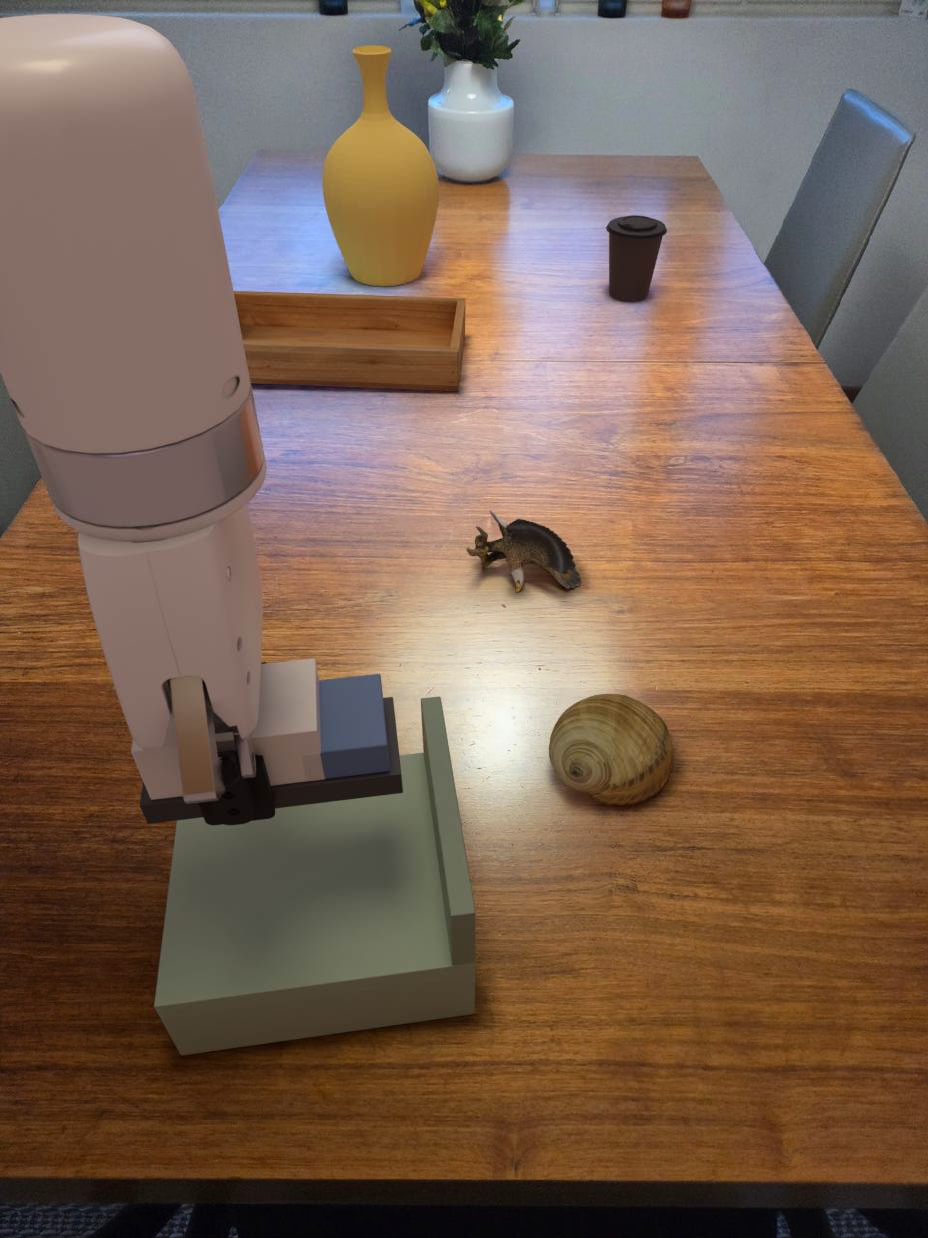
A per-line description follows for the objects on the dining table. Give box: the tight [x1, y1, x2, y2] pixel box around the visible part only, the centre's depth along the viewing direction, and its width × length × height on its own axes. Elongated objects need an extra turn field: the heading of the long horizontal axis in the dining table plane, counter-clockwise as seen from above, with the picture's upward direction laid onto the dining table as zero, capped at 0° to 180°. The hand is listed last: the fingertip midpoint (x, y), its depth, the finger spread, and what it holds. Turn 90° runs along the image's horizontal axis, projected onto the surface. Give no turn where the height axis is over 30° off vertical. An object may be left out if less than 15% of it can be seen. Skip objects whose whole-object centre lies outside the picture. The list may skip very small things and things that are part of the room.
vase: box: [321, 44, 440, 287], centre depth 119 cm, size 16×16×28 cm
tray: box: [233, 290, 466, 392], centre depth 106 cm, size 31×15×6 cm, turn 87°
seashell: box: [548, 693, 674, 807], centre depth 60 cm, size 10×7×8 cm
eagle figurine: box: [465, 509, 582, 593], centre depth 75 cm, size 8×7×9 cm
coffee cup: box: [605, 214, 668, 303], centre depth 119 cm, size 8×8×10 cm
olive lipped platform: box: [153, 695, 477, 1056], centre depth 49 cm, size 16×14×11 cm
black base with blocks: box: [130, 658, 403, 825], centre depth 42 cm, size 12×5×5 cm, turn 98°
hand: (244, 765), depth 43 cm, fingers closed on black base with blocks, 5 cm apart
